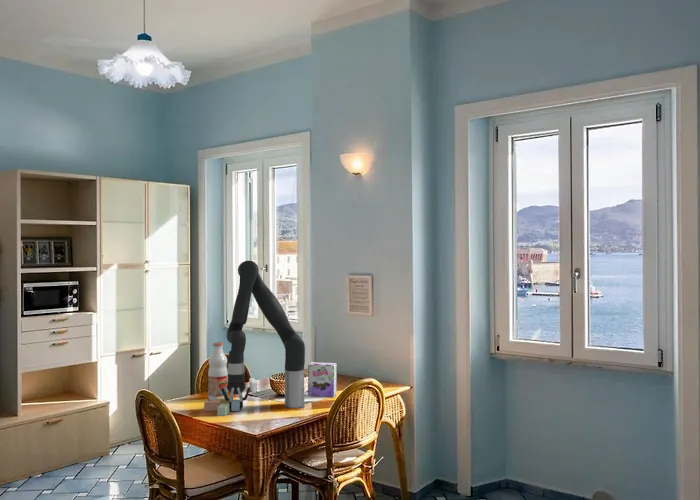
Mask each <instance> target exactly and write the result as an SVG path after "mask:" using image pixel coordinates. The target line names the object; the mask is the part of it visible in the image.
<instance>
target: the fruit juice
mask: <svg viewBox="0 0 700 500" xmlns="http://www.w3.org/2000/svg"><path fill="white" fill-rule="evenodd" d="M212 347H213V351H212V353H211V354H210V357H209V358H208V365H209V366H208V367H209V368H208V373H207V375H208V377H207V378H208V379H207V381H208V382H207V383H208V389H207V390H208V392H207V394H208V395H207V396H208V398H207V399H208V401H216V400H217V398H219V397H224V395H223V393H222V390H221V389H222V388H223V387H227V385H228V358H227V356H226V355H225V352H224V350H223V347H224V343H223V342H219V341H218V342H213V343H212ZM228 391H229V390H228V389H227V391H226V393H227V396H228V394H229V393H228ZM228 397H229V396H228Z"/></svg>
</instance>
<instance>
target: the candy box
mask: <svg viewBox="0 0 700 500" xmlns="http://www.w3.org/2000/svg"><path fill="white" fill-rule="evenodd" d="M307 365H308V366H307V369H308V370H307V371H308V373H307V395H309V396H310V397H322V398H334V397H336V396H337V366H338V365H337V363H336V362H319V361H318V362H316V361H310V362H309V363H308V364H307Z"/></svg>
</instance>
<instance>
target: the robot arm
mask: <svg viewBox="0 0 700 500" xmlns="http://www.w3.org/2000/svg"><path fill="white" fill-rule="evenodd" d="M237 273H238V276H239V284H238V285H239V286H238V290H237V295H236V298H235V301H234V305H233V309H232V315H231V316H232V317H231V321H230V322H229V325H228V328H227V332H226V339H227V341H228V343H229V344H231V347H230V348H231V349H230V350H229V352H228V362H227V371H228V385H227V387H223V388H222V389H221V390H222V393H223V395H224V398H225V400H226V401H229V403H230V410H231V402H232V399H233V400H234V395H238V399H240V410H241V411H242V409H243V407H244V401H247V399H248V396H249V394H250V392H251V390H250V389H251V387H249V386H246V383H245V360H244V359H245V357H244V356H245V355H244V354H245V353H244V352H245V350H246V349H245V348H246V343H247V338H246V336H247V335H246V333H245V332H244V331H243V328H244V327H243V326H244V325H246V323H247V322H248V317H249V311H250V305H251V297H252V295H253V297H254V300H255V302H256V304H257V306H258V307H259V309H260V311H261V313H262V315H263V316H264V317H265V319H266V320H267V321H268V323H269V324H270V326H271V327H272V328H273V329H274V330H275V331H276V333H277V334H278V337H279V338H280V340H281V343H282V344H283V347H284V349H285V350H284V352H285V353H284V354H285V359H284V361H285V362H284V407H285V408H288V409H289V408H291V409H297V408H304V407H305V364H306V363H305V360H306V346H305V345H306V344H305V341H304V340H303V339H302V337H300V335H299V334H298V332H297V331H296V330H295V329H294V327H292V325H291V323H290V321H289V319H288V316H287V314H286V312H285V310H284V308H283V307H282V305H281V303H280V302H279V300H278V298H277V297H276V295H275V294H274V293H273V292H272V291H271V289H270V288H269V287H268V286H267V285H266V284H265V282H264V281H263V279H262V277H261V275H260V272H259V266H258V264H257V263H256V262H255V261H252V260H245V261H242V262H241V263H239V265H238V267H237ZM227 389H228V391H229V393H230V395H229V396H227V393H226V391H227ZM244 389H245V390H244ZM243 391H245V392H246V393H245V395H244V396H243ZM229 397H230V398H229Z"/></svg>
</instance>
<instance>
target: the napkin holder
mask: <svg viewBox="0 0 700 500" xmlns="http://www.w3.org/2000/svg"><path fill="white" fill-rule="evenodd" d="M248 381H249V386H248V387H251V389H250V392H251V393H257V392H258V382H257V380H256V379H255V378H254V377H251V378H249V379H248Z"/></svg>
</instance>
